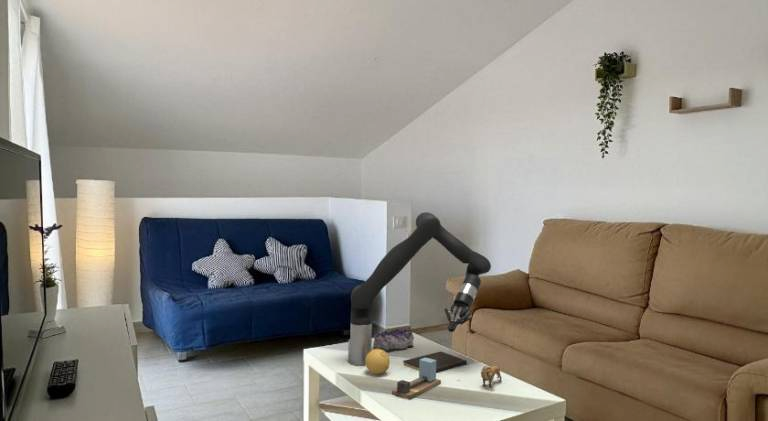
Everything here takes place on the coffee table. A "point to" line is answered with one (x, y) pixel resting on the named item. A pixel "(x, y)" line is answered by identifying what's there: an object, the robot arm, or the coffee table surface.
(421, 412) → the coffee table surface
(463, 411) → the coffee table surface
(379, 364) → the stress ball
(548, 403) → the coffee table surface
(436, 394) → the coffee table surface
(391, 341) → the geode
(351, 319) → the robot arm
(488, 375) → the lion figurine
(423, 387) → the rail
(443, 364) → the hardcover book
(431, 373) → the pale blue squarish block
